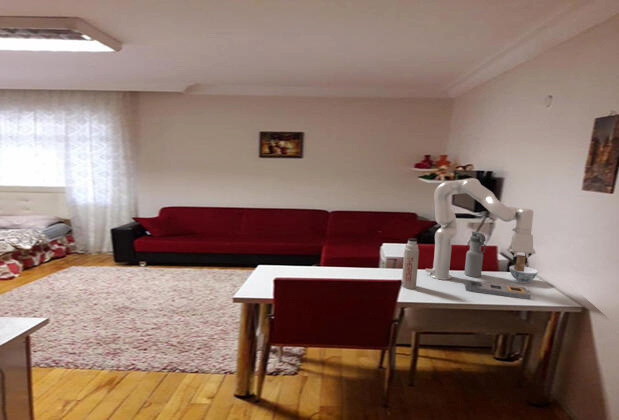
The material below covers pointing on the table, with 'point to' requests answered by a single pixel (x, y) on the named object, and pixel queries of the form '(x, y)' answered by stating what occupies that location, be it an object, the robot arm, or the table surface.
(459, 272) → the table surface
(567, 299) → the table surface
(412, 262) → the thermos bottle
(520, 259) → the peg
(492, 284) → the gray peg board
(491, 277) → the table surface
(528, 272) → the chinaware
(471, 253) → the water bottle
